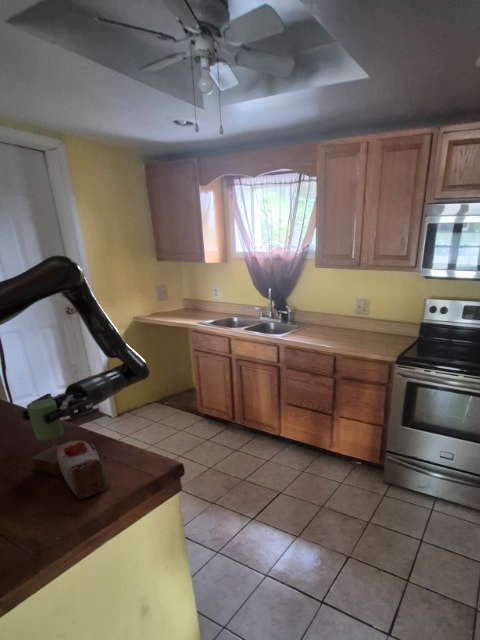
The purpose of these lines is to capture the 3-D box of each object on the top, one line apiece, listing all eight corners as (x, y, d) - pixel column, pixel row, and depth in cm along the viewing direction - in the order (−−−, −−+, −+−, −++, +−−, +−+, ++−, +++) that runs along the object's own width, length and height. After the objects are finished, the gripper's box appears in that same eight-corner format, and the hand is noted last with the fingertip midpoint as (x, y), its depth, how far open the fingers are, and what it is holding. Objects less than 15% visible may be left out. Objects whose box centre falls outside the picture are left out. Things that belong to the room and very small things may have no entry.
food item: (58, 475, 88) (48, 439, 84) (95, 463, 93) (86, 428, 89) (75, 503, 79) (64, 463, 75) (114, 487, 84) (106, 449, 80)
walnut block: (35, 470, 90) (31, 457, 88) (61, 455, 96) (57, 443, 94) (58, 475, 88) (54, 463, 86) (82, 460, 94) (79, 448, 92)
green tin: (35, 442, 85) (25, 410, 82) (36, 432, 89) (27, 401, 86) (63, 436, 87) (55, 406, 84) (63, 427, 92) (55, 397, 89)
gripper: (65, 375, 99) (4, 399, 84) (111, 381, 96) (55, 407, 81) (72, 401, 102) (14, 428, 87) (116, 407, 99) (63, 437, 84)
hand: (34, 418), depth 84 cm, fingers closed on green tin, 5 cm apart
